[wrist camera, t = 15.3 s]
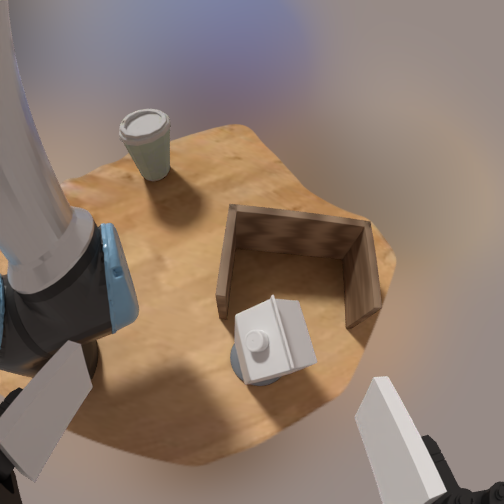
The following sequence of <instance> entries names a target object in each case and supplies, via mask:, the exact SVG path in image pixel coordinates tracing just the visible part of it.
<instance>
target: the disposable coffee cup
mask: <svg viewBox="0 0 504 504" xmlns="http://www.w3.org/2000/svg"><path fill="white" fill-rule="evenodd" d="M170 127H171V125H170V119H169V116H168V115H166V114H165V113H163V112H161V111H160V110H156V109H144V110H138V111H135V112H133V113H131V114H129V115H127V116H126V117H125V118H124V119H123V121H122V122H121V124H120V132H119V137H120V140H121V141H122V142H123V143H124V144H125V146H126V148H127V150H128V152H129V153H130V155H131V157H132V159H133V161H134V162H135V164H136V166H137V168H138V169H139V171H140V173H141V175H142V176H143V177H144V178H145V179H147V180H149V181H157V180H161V179H162V178H164V177H165V176H166V175H167V174H168V172H169V169H170Z"/></svg>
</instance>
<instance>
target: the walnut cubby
mask: <svg viewBox="0 0 504 504" xmlns="http://www.w3.org/2000/svg"><path fill="white" fill-rule="evenodd" d="M236 248H237V249H247V250H257V251H266V252H276V253H286V254H295V255H305V256H314V257H324V258H333V259H342V262H343V277H344V294H345V320H346V328H353V327H354V326H356V325H357V324H359V323H360V322H362V321H363V320H365V319H366V318H368V317H369V316H371V315H372V314H374V313H375V312H377V311H378V310H379V309H381V308H382V304H381V293H380V284H379V275H378V267H377V260H376V253H375V246H374V240H373V234H372V228H371V222H370V221H363V220H357V219H350V218H343V217H336V216H329V215H322V214H314V213H307V212H299V211H290V210H282V209H273V208H264V207H255V206H245V205H235V204H230V205H229V211H228V217H227V223H226V229H225V235H224V242H223V248H222V255H221V261H220V268H219V274H218V281H217V288H216V301H217V307H218V313H219V318H220V319H227V314H228V306H229V297H230V289H231V281H232V273H233V265H234V257H235V249H236Z"/></svg>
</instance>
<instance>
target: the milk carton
mask: <svg viewBox="0 0 504 504" xmlns="http://www.w3.org/2000/svg"><path fill="white" fill-rule="evenodd" d="M235 347H236V351H237V355H238V359H239V363H240V368H241V372H242V376H243V380H244V383H245V385H247V384H251V383H256V382H260V381H264V380H268V379H272V378H276V377H280V376H284V375H287V374H291V373H293V372H296V371H298V370H301V369H303V368H306V367H308V366H311V365H313V364H315V363H317V359H316V356H315V352H314V349H313V346H312V342H311V339H310V336H309V333H308V329H307V326H306V323H305V320H304V316H303V313H302V310H301V307H300V304H299V301H295V300H283V299H275V298H274V295H272V296H271V298H270V299H269V300H267V301H264V302H262V303H260V304H258V305H256V306H253V307H251V308H249V309H247V310H245V311H242V312H240V313H238V314H236V315H235Z"/></svg>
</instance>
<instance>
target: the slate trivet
mask: <svg viewBox="0 0 504 504" xmlns="http://www.w3.org/2000/svg"><path fill="white" fill-rule="evenodd" d="M230 359H231V365H232V368H233V370H234V372H235V374H236V375H237V376H238V377H239V378H240V379H241V380H242V381H244V380H243V376H242V372H241V368H240V363H239V359H238V355H237V351H236V347H235V343H234V345H233V347H232V350H231V356H230ZM280 377H281V376H280ZM280 377H276V378H272V379H268V380H264V381H260V382H256V383H251V385H256V386H263V385H268V384H271V383H273V382H275V381H277V380H278V379H279V378H280Z"/></svg>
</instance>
